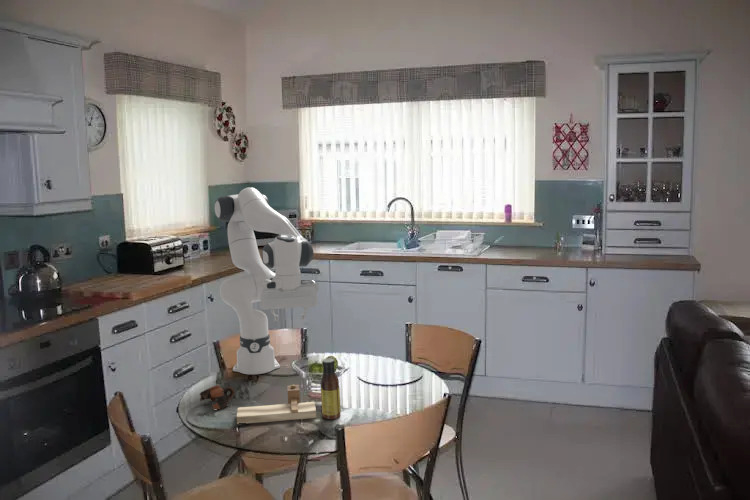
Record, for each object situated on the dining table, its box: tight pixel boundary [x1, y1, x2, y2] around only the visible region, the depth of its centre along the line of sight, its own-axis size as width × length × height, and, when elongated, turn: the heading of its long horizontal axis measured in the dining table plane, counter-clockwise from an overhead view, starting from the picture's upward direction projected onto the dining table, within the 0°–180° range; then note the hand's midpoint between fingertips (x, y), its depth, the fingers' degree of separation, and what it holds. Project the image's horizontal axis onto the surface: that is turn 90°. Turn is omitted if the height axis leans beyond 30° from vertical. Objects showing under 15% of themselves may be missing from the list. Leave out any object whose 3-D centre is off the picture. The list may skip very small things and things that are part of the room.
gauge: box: [286, 384, 301, 413], centre depth 231 cm, size 15×4×8 cm, turn 8°
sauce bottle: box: [320, 357, 342, 420], centre depth 226 cm, size 7×6×20 cm
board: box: [236, 401, 317, 425], centre depth 229 cm, size 8×26×3 cm, turn 98°
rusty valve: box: [199, 384, 235, 410], centre depth 240 cm, size 12×10×8 cm
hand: (290, 319), depth 240 cm, fingers open, 8 cm apart
